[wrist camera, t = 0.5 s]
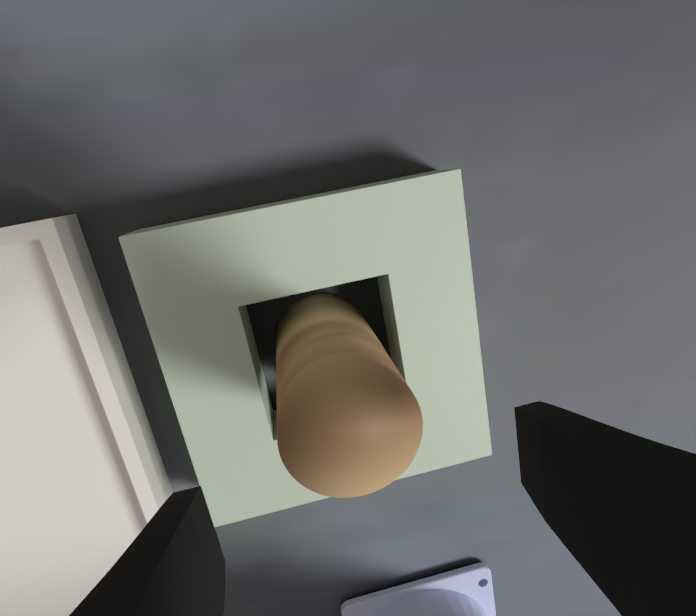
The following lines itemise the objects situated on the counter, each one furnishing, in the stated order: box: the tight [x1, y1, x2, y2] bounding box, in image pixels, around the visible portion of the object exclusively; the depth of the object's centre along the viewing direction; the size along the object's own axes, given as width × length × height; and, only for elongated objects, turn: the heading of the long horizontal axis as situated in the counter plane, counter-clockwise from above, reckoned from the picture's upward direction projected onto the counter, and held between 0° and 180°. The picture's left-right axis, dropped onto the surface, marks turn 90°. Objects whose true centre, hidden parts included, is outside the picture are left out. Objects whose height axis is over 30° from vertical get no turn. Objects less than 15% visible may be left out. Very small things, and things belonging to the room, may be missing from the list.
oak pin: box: [276, 293, 423, 498], centre depth 17 cm, size 4×4×8 cm
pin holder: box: [118, 169, 492, 527], centre depth 19 cm, size 12×12×2 cm
